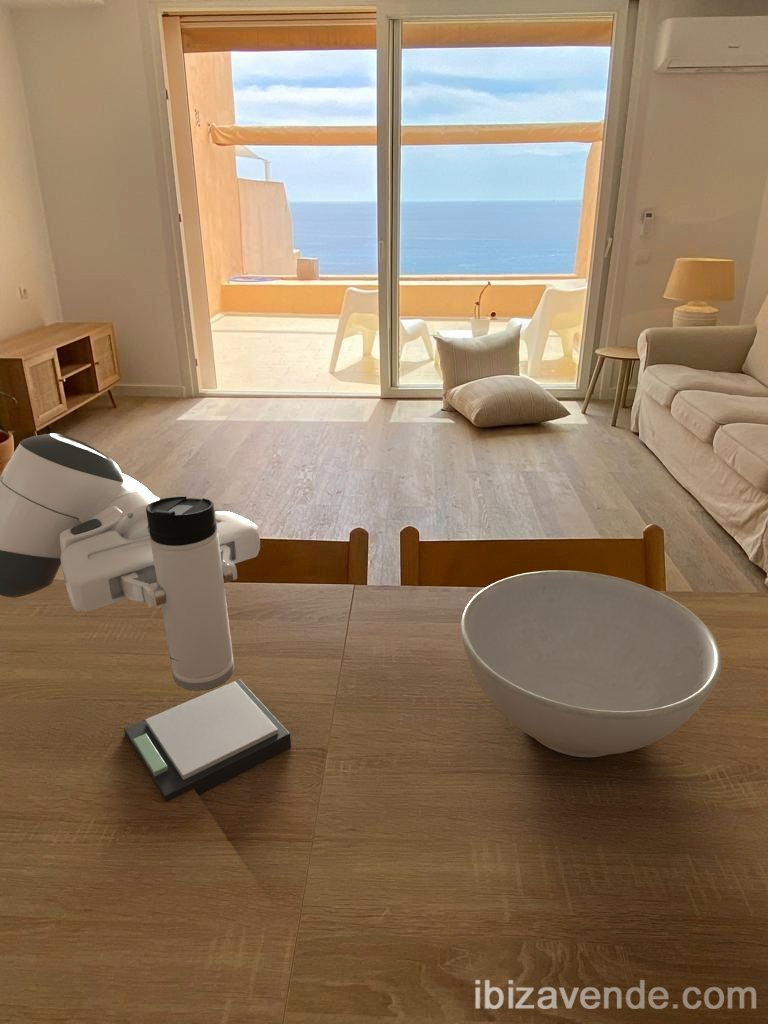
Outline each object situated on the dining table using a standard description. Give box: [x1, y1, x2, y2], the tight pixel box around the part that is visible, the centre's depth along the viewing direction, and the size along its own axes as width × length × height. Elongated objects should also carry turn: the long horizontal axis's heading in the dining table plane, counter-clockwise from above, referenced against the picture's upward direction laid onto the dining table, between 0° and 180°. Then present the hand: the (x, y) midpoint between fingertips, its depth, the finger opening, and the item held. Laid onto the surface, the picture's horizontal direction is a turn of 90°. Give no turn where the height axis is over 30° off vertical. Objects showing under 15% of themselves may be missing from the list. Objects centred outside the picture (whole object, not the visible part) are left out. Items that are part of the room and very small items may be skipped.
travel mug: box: [146, 495, 235, 692], centre depth 69 cm, size 6×7×20 cm
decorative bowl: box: [460, 570, 723, 758], centre depth 77 cm, size 27×27×12 cm
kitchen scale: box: [123, 679, 292, 803], centre depth 76 cm, size 14×12×3 cm
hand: (195, 587), depth 68 cm, fingers closed on travel mug, 6 cm apart
